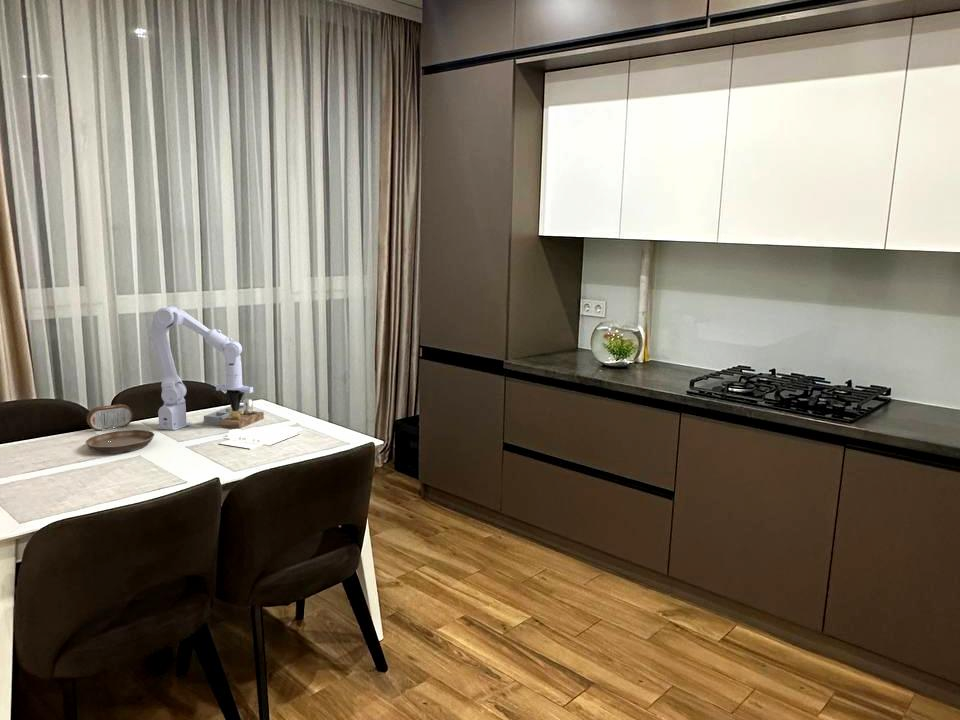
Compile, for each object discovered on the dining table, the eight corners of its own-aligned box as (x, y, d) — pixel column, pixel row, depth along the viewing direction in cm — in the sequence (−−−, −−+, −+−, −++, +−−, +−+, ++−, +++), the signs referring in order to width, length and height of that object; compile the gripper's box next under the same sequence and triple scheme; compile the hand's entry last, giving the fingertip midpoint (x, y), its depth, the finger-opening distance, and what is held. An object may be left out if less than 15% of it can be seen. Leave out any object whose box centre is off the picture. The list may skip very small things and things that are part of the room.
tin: (132, 424, 271) (130, 402, 269) (134, 426, 268) (132, 403, 267) (87, 430, 261) (85, 408, 260) (89, 432, 259) (87, 409, 257)
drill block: (239, 428, 266) (238, 422, 265) (220, 427, 268) (219, 420, 267) (263, 418, 281) (263, 412, 280) (245, 416, 283) (245, 410, 283)
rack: (220, 425, 270) (219, 417, 270) (204, 423, 272) (203, 415, 272) (251, 412, 289) (251, 405, 289) (236, 411, 291) (235, 404, 291)
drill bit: (250, 421, 276) (249, 400, 275) (242, 420, 277) (241, 400, 276) (254, 419, 279) (253, 399, 278) (247, 418, 280) (246, 398, 279)
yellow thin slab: (242, 424, 269) (241, 411, 268) (228, 423, 271) (227, 410, 270) (244, 423, 270) (243, 410, 269) (230, 422, 272) (229, 409, 271)
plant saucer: (72, 450, 239) (71, 440, 238) (128, 435, 257) (127, 426, 256) (113, 459, 229) (112, 449, 229) (168, 443, 248) (168, 434, 247)
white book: (310, 431, 265) (310, 422, 264) (258, 455, 240) (258, 444, 239) (265, 425, 273) (264, 416, 272) (210, 448, 248) (210, 437, 247)
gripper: (257, 373, 269) (258, 409, 271) (223, 371, 273) (225, 406, 275) (245, 377, 262) (247, 413, 265) (211, 374, 266) (213, 410, 269)
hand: (235, 410), depth 270 cm, fingers closed, pressing on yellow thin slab
